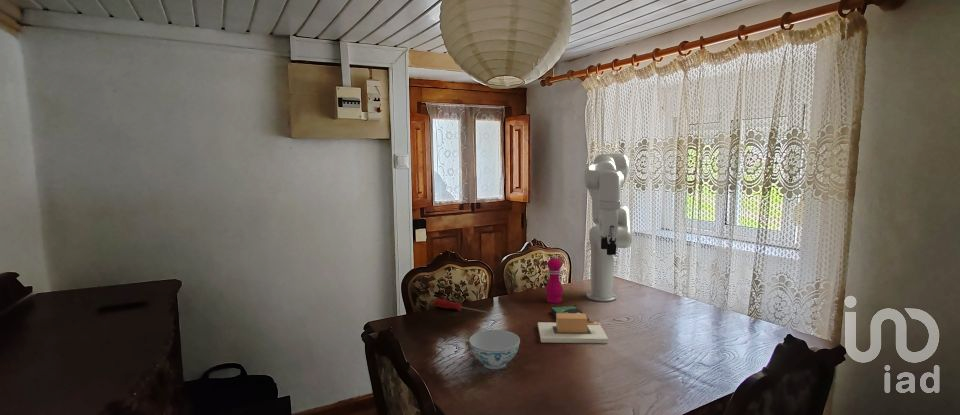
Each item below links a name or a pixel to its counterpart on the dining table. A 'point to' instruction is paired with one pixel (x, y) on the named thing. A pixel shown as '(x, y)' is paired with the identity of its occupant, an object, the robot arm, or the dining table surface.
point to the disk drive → (566, 310)
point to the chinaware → (494, 347)
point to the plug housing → (573, 323)
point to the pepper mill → (554, 281)
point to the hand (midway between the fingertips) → (608, 251)
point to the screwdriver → (451, 305)
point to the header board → (571, 334)
